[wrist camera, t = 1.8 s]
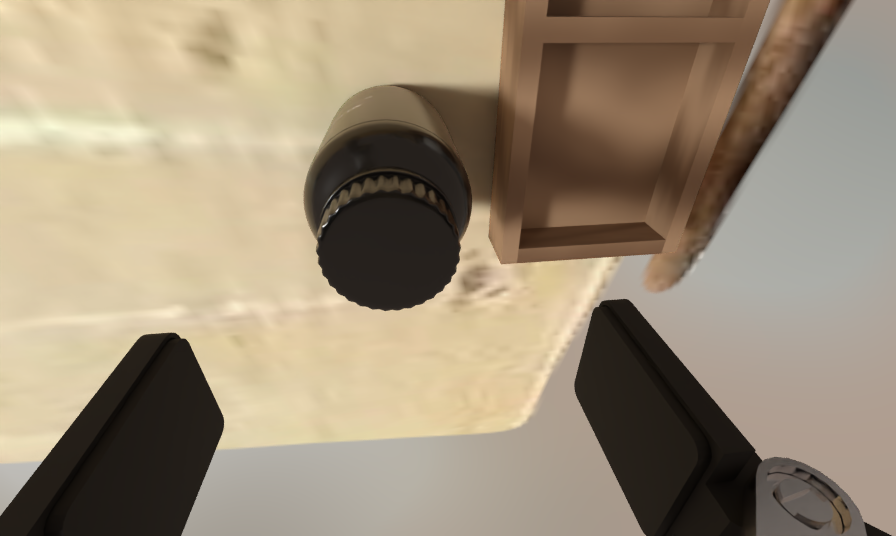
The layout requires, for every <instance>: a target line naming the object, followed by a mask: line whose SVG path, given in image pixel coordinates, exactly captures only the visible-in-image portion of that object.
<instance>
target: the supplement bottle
mask: <svg viewBox="0 0 896 536" xmlns="http://www.w3.org/2000/svg"><path fill="white" fill-rule="evenodd" d="M304 209H305V214H306V218H307V221H308V224H309V227H310V229H311V231H312V233H313V235H314V237H315V238H316V240H317V241H318V243H317V246H316V252H317V254H318V256H319V257H318V264H319V265H320V267H321V268H322V274H323V276H324V277H326V278H327V279H328V282H329V285H330V286H332V287H334V288H335V289H336V291H337V292H338V294H340V295H343V296H345V297H346V298H347V300H348V301H351V302H356V303H357V304H358V305H360V306H366V307H369V308H371V309H381V310H384V311H388V310H401V309H403V308H412V307H414V306H415V305H420V304H423V303H424V302H425V301H426V300H429V299H432V298H434V297H435V295H436V294H437V293H439V292H441V291H443V289H444V287H445V285H447V284H448V283H450V282H451V277H452V276H453V275H454V274H455V273H456V265H457V264H458V263H459V261H460V257H459V252H460V249H461V246H460V241H461V239H462V238H463V236H464V234H465V232H466V229H467V227H468V224H469V220H470V216H471V209H472V194H471V188H470V184H469V180H468V176H467V173H466V171H465V168H464V166H463V164H462V161H461V159H460V157H459V155H458V152H457V150H456V148H455V145H454V143H453V141H452V139H451V136H450V134H449V132H448V130H447V127H446V125H445V123H444V121H443V120H442V118H441V116H440V115H439V113H438V112H437V110H436V109H435V108H434V107H433V106H432V105H431V104H430V103H429V102H428V101H427V100H426V99H425V98H423V97H422V96H420V95H419V94H417V93H415V92H413V91H411V90H408V89H405V88H402V87H398V86H389V85H385V86H375V87H371V88H368V89H365V90H363V91H360V92H358V93H357V94H355V95H354V96H352V97H351V98H350V99H348V100H347V101H346V102H345V103H344V104H343V105H342V107H341V108H340V109H339V110H338V112H337V113H336V115H335V117H334V118H333V120H332V122H331V124H330V127H329V129H328V131H327V133H326V135H325V137H324V139H323V141H322V143H321V145H320V147H319V149H318V151H317V153H316V155H315V157H314V159H313V162H312V164H311V166H310V169H309V171H308V174H307V178H306V182H305V187H304Z"/></svg>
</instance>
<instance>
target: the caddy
mask: <svg viewBox="0 0 896 536" xmlns="http://www.w3.org/2000/svg"><path fill="white" fill-rule="evenodd" d="M769 2H770V0H505V12H504V27H503V41H502V55H501V69H500V83H499V97H498V111H497V125H496V140H495V154H494V168H493V182H492V196H491V210H490V224H489V239H490V241H491V243H492V245H493V248H494V250H495V252H496V254H497V256H498V259H499V261H500V263H501V264H511V263H526V262H541V261H556V260H571V259H586V258H601V257H616V256H630V255H646V254H661V253H676V250H677V248H678V245H679V242H680V240H681V237H682V234H683V232H684V229H685V226H686V224H687V221H688V218H689V216H690V213H691V210H692V208H693V205H694V202H695V200H696V197H697V194H698V192H699V189H700V186H701V184H702V181H703V178H704V176H705V173H706V170H707V168H708V165H709V162H710V160H711V157H712V154H713V152H714V149H715V146H716V144H717V141H718V138H719V136H720V133H721V130H722V128H723V125H724V122H725V120H726V117H727V114H728V112H729V109H730V106H731V104H732V101H733V98H734V96H735V93H736V90H737V88H738V85H739V82H740V80H741V77H742V74H743V72H744V69H745V66H746V64H747V61H748V58H749V56H750V53H751V50H752V48H753V45H754V42H755V40H756V37H757V34H758V32H759V29H760V26H761V24H762V21H763V18H764V16H765V13H766V10H767V8H768V4H769Z"/></svg>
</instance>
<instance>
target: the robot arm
mask: <svg viewBox="0 0 896 536" xmlns="http://www.w3.org/2000/svg"><path fill="white" fill-rule="evenodd" d="M575 392H576V396H577V398H578V400H579V402H580V404H581V406H582V409H583V411H584V413H585V415H586V417H587V419H588V421H589V423H590V425H591V427H592V429H593V431H594V433H595V435H596V437H597V439H598V441H599V443H600V445H601V447H602V449H603V451H604V454H605V456H606V458H607V460H608V462H609V464H610V466H611V468H612V470H613V472H614V474H615V476H616V478H617V480H618V482H619V484H620V486H621V488H622V490H623V492H624V494H625V497H626V499H627V501H628V503H629V504H630V507H631V509H632V511H633V513H634V515H635V517H636V519H637V521H638V523H639V525H640V527H641V529H642V531H643V532H644V534H645V535H646V536H891V535H889V534H887V533H885V532H883V531H881V530H879V529H877V528H875V527H873V526H871V525H869V524H867V523H865V522H864V521H863V519H862V516H861V514H860V511H859V509H858V508H857V506H856V505H855V504H854V502H853V501H852V500H851V498H850V497H849V496H848V494H847V493H846V492H844V491H843V490H842V489H841V488H840V487H839V486H838V485H837V484H836V483H835V482H834V481H832V480H831V479H829V478H828V477H827V476H825V475H824V474H823V473H821V472H820V471H818V470H816V469H814V468H812V467H810V466H808V465H806V464H804V463H802V462H799V461H796V460H792V459H789V458H781V457H773V458H769V459H765V460H764V461H762V460H761V459H760V457H759V456H758V455H757V454H756V453H755V449H754V448H753V447H752V445H751V444H750V443H749V442H748V441H747V439H746V438H745V437H744V436H743V435H742V434H741V432H740V431H739V430H738V429H737V428H736V426H735V425H734V424H733V423H732V422H731V420H730V419H729V418H728V417H727V416H726V414H725V413H724V412H723V411H722V410H721V408H720V407H719V406H718V405H717V404H716V403H715V401H714V400H713V399H712V398H711V397H710V395H709V394H708V393H707V392H706V391H705V389H704V388H703V387H702V386H701V385H700V384H699V382H698V381H697V380H696V379H695V378H694V376H693V375H692V374H691V373H690V372H689V370H688V369H687V368H686V367H685V366H684V364H683V363H682V362H681V361H680V360H679V358H678V357H677V356H676V355H675V354H674V353H673V351H672V350H671V349H670V348H669V347H668V345H667V344H666V343H665V342H664V341H663V340H662V338H661V337H660V336H659V335H658V334H657V332H656V331H655V330H654V329H653V328H652V326H651V325H650V324H649V323H648V322H647V320H646V319H645V318H644V317H643V316H642V315H641V313H640V312H639V311H638V310H637V308H636V307H635V306H634V305H633V304H632V303H631V302H630V301H629V300H627V299H619V300H606V301H602V302H601V303H600V305H599V307H596V308H594V310H593V313H592V317H591V321H590V324H589V328H588V332H587V336H586V340H585V344H584V348H583V352H582V356H581V360H580V363H579V367H578V372H577V375H576V379H575ZM223 428H224V418H223V415H222V413H221V410H220V408H219V406H218V404H217V402H216V400H215V398H214V396H213V393H212V391H211V389H210V387H209V385H208V383H207V381H206V378H205V376H204V374H203V372H202V370H201V368H200V366H199V364H198V361H197V359H196V357H195V355H194V353H193V351H192V349H191V346H190V344H189V342H188V341H187V340H186V339H181V338H180V337H179V335H177V334H176V333H160V334H147V335H143V336H141V337H140V338H139V339H138V340H137V341H136V343H135V344H134V345H133V346H132V348H131V349H130V350H129V352H128V353H127V354H126V355H125V357H124V358H123V359H122V361H121V362H120V363H119V364H118V366H117V367H116V368H115V370H114V371H113V372H112V373H111V375H110V376H109V377H108V379H107V380H106V381H105V382H104V384H103V385H102V386H101V388H100V389H99V390H98V391H97V393H96V394H95V395H94V396H93V398H92V399H91V400H90V402H89V403H88V404H87V405H86V407H85V408H84V409H83V411H82V412H81V413H80V414H79V416H78V417H77V418H76V420H75V421H74V422H73V423H72V425H71V426H70V427H69V429H68V430H67V431H66V432H65V434H64V435H63V436H62V438H61V439H60V440H59V441H58V443H57V444H56V445H55V447H54V448H53V449H52V450H51V452H50V453H49V454H48V456H47V457H46V458H45V459H44V461H43V462H42V463H41V465H40V466H39V467H38V468H37V470H36V471H35V472H34V474H33V475H32V476H31V477H30V479H29V480H28V481H27V483H26V484H25V485H24V486H23V488H22V489H21V490H20V491H19V493H18V494H17V495H16V497H15V498H14V499H13V500H12V502H11V503H10V504H9V506H8V507H7V508H6V509H5V511H4V512H3V513H2V515H1V516H0V536H181V534H182V532H183V529H184V527H185V524H186V522H187V519H188V517H189V514H190V512H191V510H192V507H193V505H194V502H195V500H196V497H197V494H198V492H199V490H200V487H201V485H202V482H203V480H204V477H205V475H206V472H207V470H208V467H209V465H210V462H211V460H212V457H213V455H214V452H215V450H216V447H217V445H218V442H219V440H220V438H221V435H222V432H223Z"/></svg>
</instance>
